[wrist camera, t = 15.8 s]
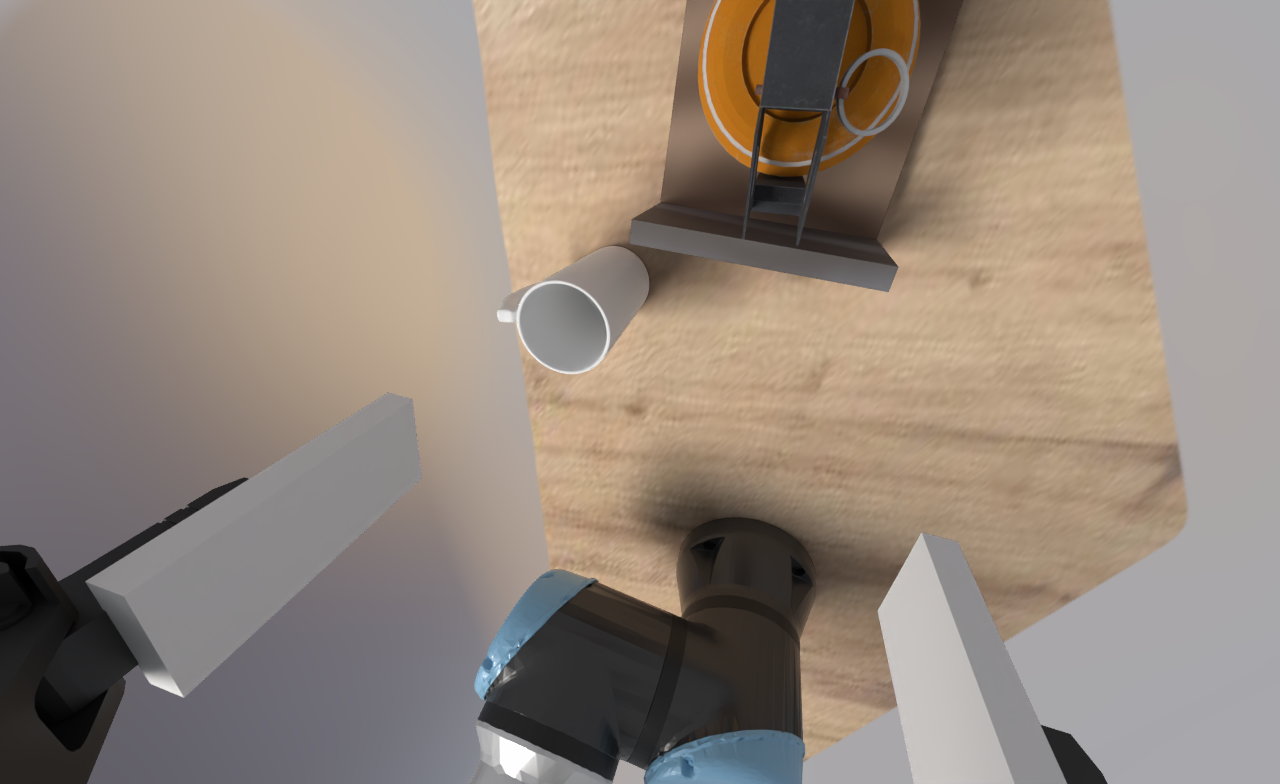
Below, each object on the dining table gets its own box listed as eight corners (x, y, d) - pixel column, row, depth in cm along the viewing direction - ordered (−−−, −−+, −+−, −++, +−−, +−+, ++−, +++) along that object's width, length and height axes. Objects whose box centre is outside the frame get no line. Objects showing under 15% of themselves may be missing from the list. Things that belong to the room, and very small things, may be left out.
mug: (654, 245, 40) (609, 285, 30) (652, 321, 43) (610, 380, 33) (544, 236, 42) (467, 271, 32) (549, 309, 46) (481, 361, 35)
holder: (863, 262, 36) (885, 300, 28) (661, 225, 39) (628, 251, 31) (984, -75, 27) (1068, -161, 19) (703, -92, 29) (672, -174, 21)
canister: (891, -3, 28) (1051, -201, 11) (842, 198, 33) (898, 271, 17) (737, -4, 30) (674, -176, 13) (714, 187, 35) (649, 242, 18)
